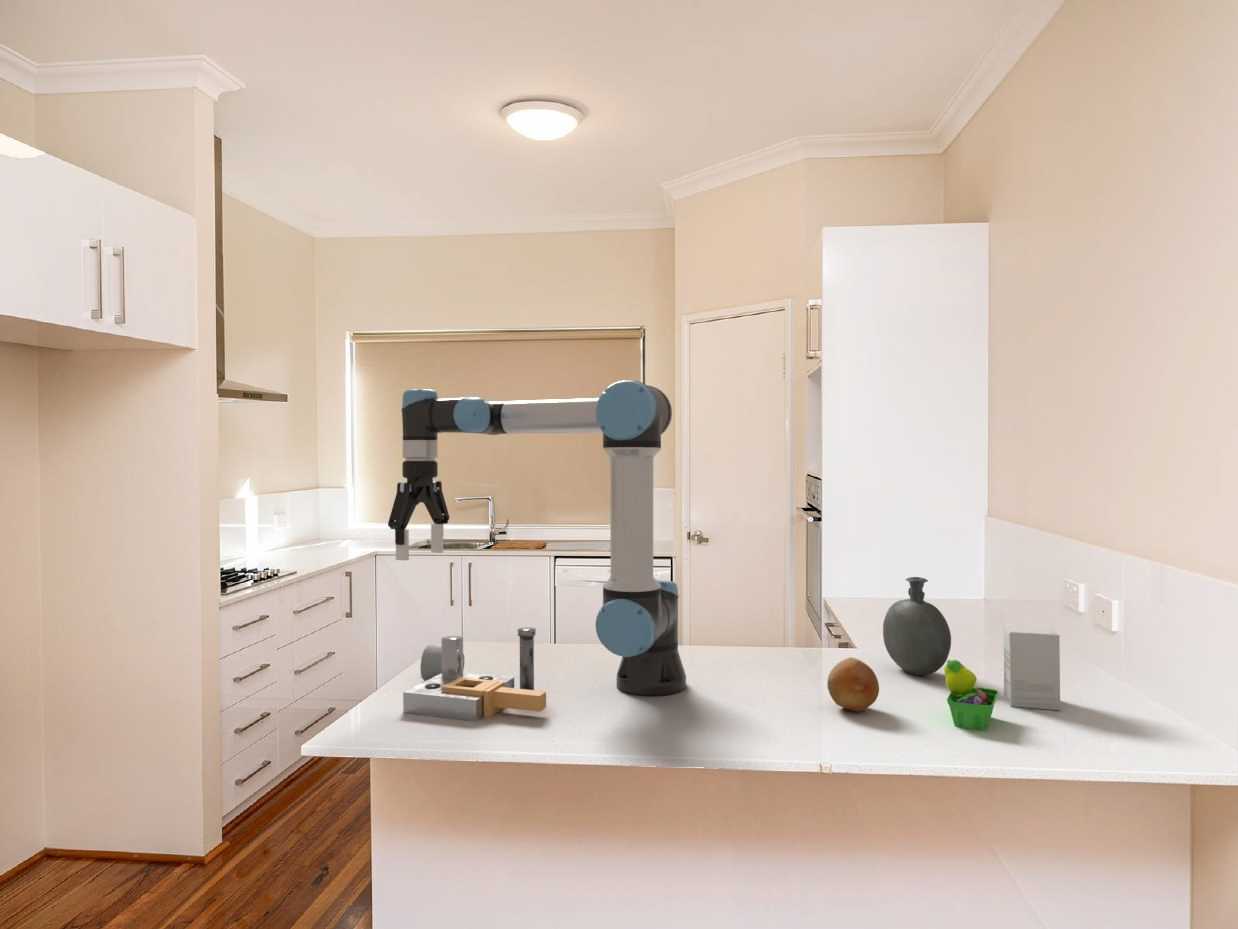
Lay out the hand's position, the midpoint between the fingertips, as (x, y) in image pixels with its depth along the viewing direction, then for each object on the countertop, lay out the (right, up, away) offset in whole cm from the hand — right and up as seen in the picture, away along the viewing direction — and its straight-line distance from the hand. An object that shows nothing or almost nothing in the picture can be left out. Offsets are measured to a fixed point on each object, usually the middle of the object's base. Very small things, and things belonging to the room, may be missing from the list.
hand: (420, 556), depth 171 cm
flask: (+112, -28, +6) cm, 115 cm away
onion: (+90, -28, -19) cm, 96 cm away
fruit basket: (+110, -28, -26) cm, 116 cm away
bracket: (+20, -28, -20) cm, 40 cm away
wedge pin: (+24, -28, -6) cm, 38 cm away
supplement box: (+127, -28, -15) cm, 131 cm away
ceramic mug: (+4, -28, +3) cm, 29 cm away
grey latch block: (+12, -28, -15) cm, 34 cm away
